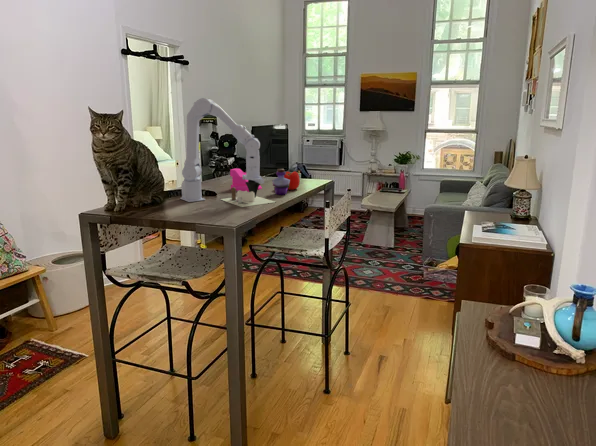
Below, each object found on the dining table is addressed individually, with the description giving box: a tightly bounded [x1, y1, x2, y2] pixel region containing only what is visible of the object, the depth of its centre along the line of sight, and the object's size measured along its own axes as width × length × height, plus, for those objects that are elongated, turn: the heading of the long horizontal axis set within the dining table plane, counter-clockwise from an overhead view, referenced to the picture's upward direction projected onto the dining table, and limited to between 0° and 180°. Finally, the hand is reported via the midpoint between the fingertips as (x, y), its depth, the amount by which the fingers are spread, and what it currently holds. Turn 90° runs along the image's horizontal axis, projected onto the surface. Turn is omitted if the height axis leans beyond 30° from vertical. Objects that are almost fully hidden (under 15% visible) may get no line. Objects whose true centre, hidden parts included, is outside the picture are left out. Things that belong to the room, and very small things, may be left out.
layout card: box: [219, 195, 276, 208], centre depth 197 cm, size 19×17×1 cm
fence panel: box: [236, 190, 255, 202], centre depth 195 cm, size 8×1×4 cm, turn 68°
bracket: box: [229, 167, 263, 192], centre depth 225 cm, size 12×10×10 cm
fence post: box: [230, 187, 237, 200], centre depth 197 cm, size 2×2×6 cm
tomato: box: [284, 171, 301, 191], centre depth 226 cm, size 11×12×9 cm
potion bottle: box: [271, 168, 290, 196], centre depth 212 cm, size 9×9×12 cm
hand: (253, 197), depth 197 cm, fingers closed
